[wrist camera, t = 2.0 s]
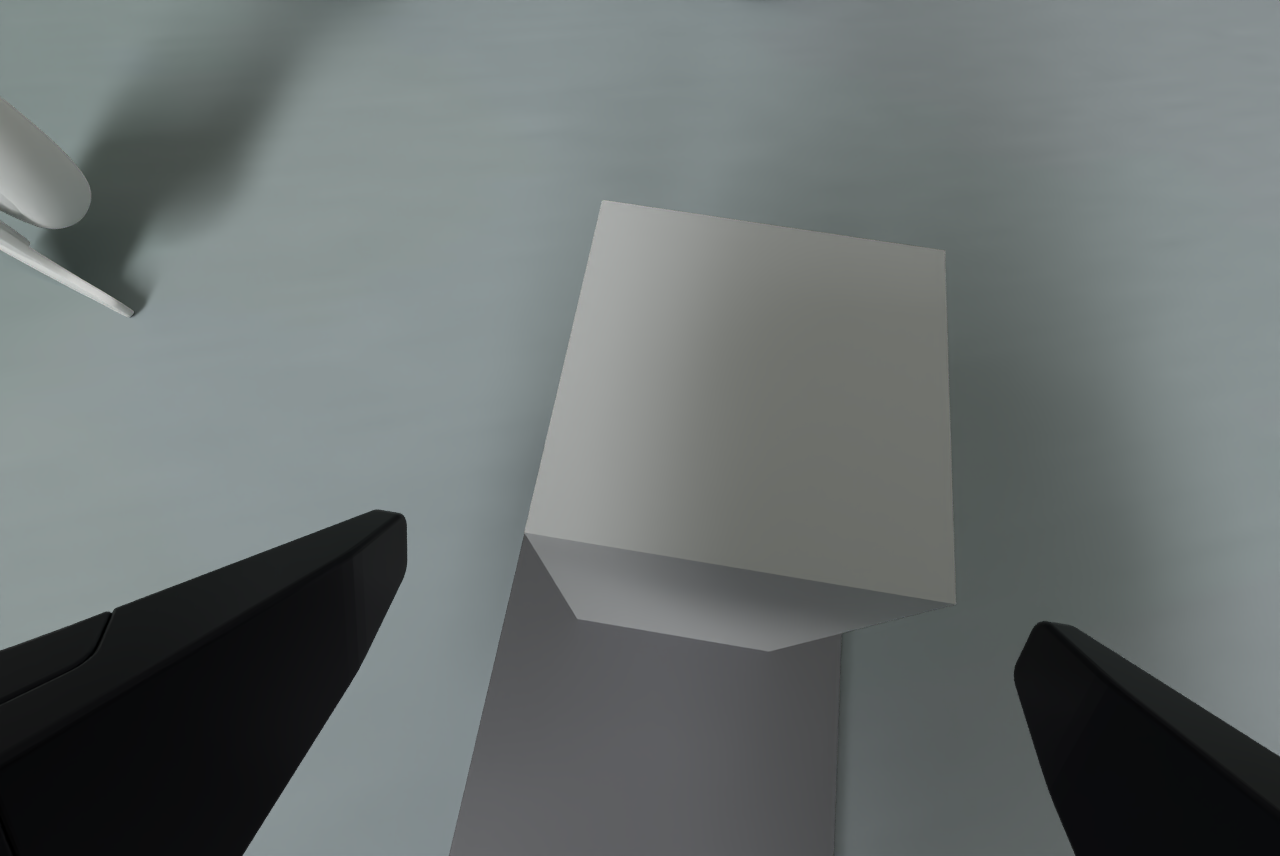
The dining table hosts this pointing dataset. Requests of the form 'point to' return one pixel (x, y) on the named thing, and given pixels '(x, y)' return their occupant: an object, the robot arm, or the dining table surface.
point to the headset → (42, 197)
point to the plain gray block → (749, 433)
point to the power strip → (647, 740)
